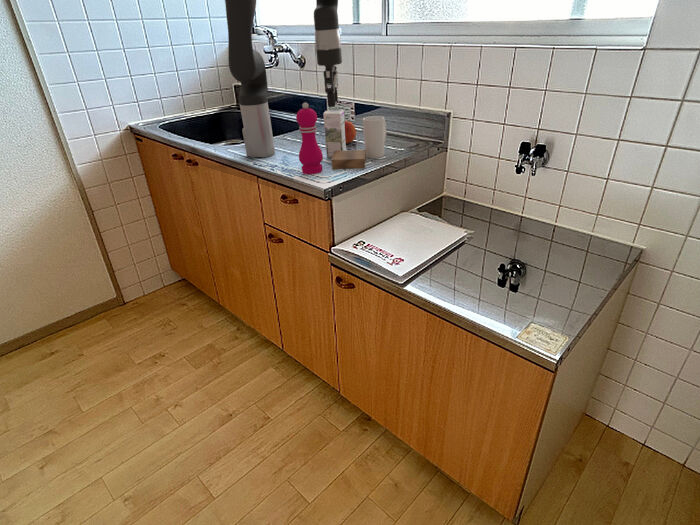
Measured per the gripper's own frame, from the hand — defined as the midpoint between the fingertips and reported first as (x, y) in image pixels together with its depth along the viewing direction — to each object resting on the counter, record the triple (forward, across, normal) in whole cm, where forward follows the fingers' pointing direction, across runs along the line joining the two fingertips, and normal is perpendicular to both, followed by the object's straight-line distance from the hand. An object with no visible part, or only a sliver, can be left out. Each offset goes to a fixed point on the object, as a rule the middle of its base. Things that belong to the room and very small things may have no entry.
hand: (333, 104), depth 135 cm
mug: (+17, +1, +14) cm, 22 cm away
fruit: (+17, -16, +2) cm, 23 cm away
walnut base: (+17, +10, +5) cm, 20 cm away
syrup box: (+17, 0, 0) cm, 17 cm away
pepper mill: (+17, +16, -6) cm, 24 cm away
